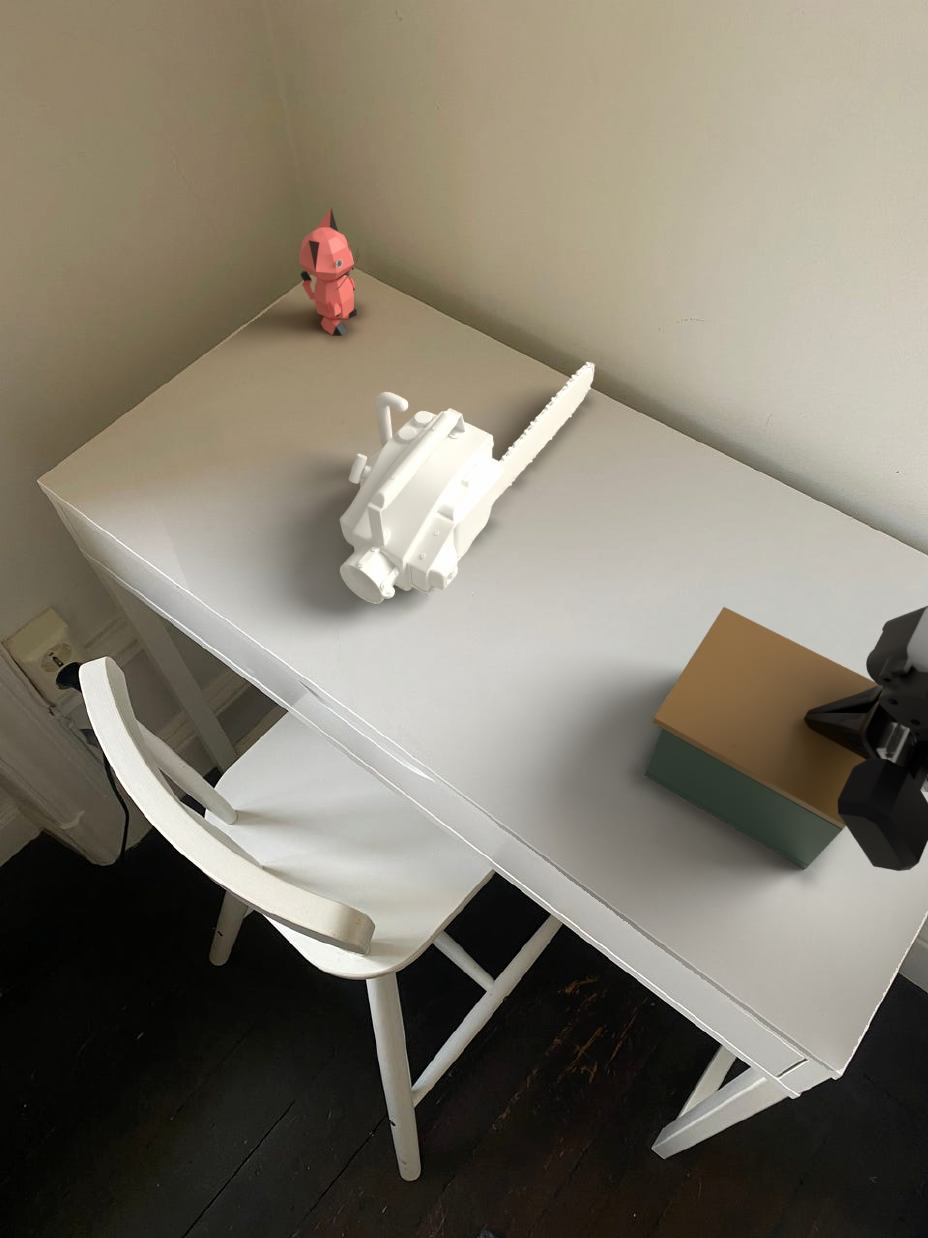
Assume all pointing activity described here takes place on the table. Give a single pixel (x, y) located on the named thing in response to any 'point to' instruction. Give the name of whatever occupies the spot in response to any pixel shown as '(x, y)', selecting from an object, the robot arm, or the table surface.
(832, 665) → the lid
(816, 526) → the table surface
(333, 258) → the cat figurine
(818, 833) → the green open box
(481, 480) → the chainsaw
